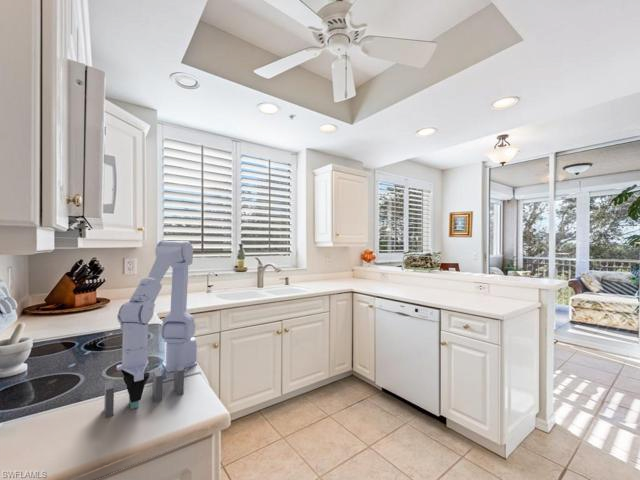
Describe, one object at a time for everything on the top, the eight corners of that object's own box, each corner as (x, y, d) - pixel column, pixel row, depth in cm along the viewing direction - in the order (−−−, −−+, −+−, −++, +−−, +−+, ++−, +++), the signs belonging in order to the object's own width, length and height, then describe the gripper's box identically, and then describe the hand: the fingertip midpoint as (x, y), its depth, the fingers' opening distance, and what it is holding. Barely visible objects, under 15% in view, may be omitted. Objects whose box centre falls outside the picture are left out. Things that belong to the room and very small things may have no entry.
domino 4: (179, 387, 86) (180, 364, 86) (183, 393, 82) (184, 369, 82) (173, 388, 85) (174, 365, 85) (177, 395, 81) (178, 371, 81)
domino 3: (158, 393, 82) (159, 369, 82) (162, 400, 79) (162, 375, 79) (152, 394, 81) (153, 370, 81) (155, 402, 78) (156, 376, 78)
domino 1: (111, 406, 75) (112, 380, 75) (113, 415, 72) (113, 387, 72) (104, 409, 74) (104, 382, 74) (105, 417, 71) (106, 389, 71)
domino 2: (136, 399, 79) (136, 374, 78) (138, 407, 75) (139, 380, 75) (129, 401, 78) (129, 375, 77) (131, 409, 74) (131, 382, 74)
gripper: (114, 341, 79) (113, 389, 79) (120, 359, 68) (118, 415, 68) (144, 336, 84) (143, 381, 84) (153, 352, 73) (152, 405, 73)
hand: (134, 396), depth 76 cm, fingers closed on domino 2, 4 cm apart
